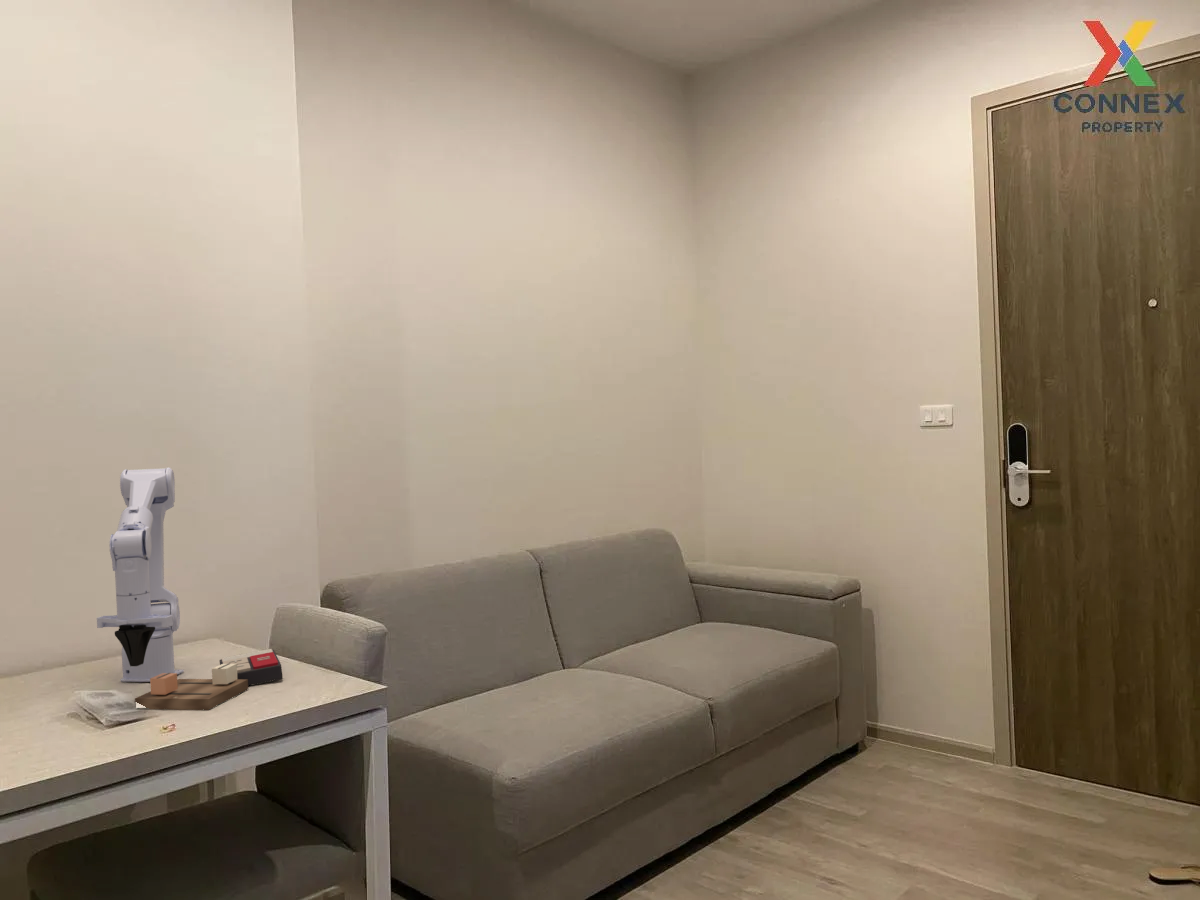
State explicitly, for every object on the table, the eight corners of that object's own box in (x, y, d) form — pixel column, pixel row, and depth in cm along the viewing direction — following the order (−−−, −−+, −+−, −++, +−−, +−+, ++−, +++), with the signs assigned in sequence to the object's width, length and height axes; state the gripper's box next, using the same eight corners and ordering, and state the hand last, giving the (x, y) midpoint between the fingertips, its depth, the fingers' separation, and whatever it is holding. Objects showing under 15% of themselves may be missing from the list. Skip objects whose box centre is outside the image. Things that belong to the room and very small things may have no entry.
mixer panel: (135, 709, 167) (134, 697, 167) (179, 688, 180) (178, 678, 180) (208, 710, 165) (208, 698, 165) (248, 689, 178) (247, 678, 178)
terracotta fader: (151, 694, 168) (150, 677, 168) (163, 688, 172) (162, 672, 172) (165, 694, 168) (164, 678, 167) (177, 689, 171) (176, 672, 171)
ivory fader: (212, 684, 174) (211, 668, 174) (223, 678, 177) (222, 663, 177) (226, 684, 173) (226, 668, 173) (237, 679, 177) (236, 663, 177)
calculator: (222, 672, 178) (218, 656, 191) (225, 693, 178) (221, 675, 191) (281, 661, 182) (273, 645, 196) (283, 682, 182) (275, 665, 196)
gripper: (83, 597, 167) (87, 670, 168) (153, 596, 165) (157, 670, 165) (110, 590, 174) (113, 660, 175) (178, 590, 172) (181, 660, 172)
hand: (136, 665), depth 170 cm, fingers closed
